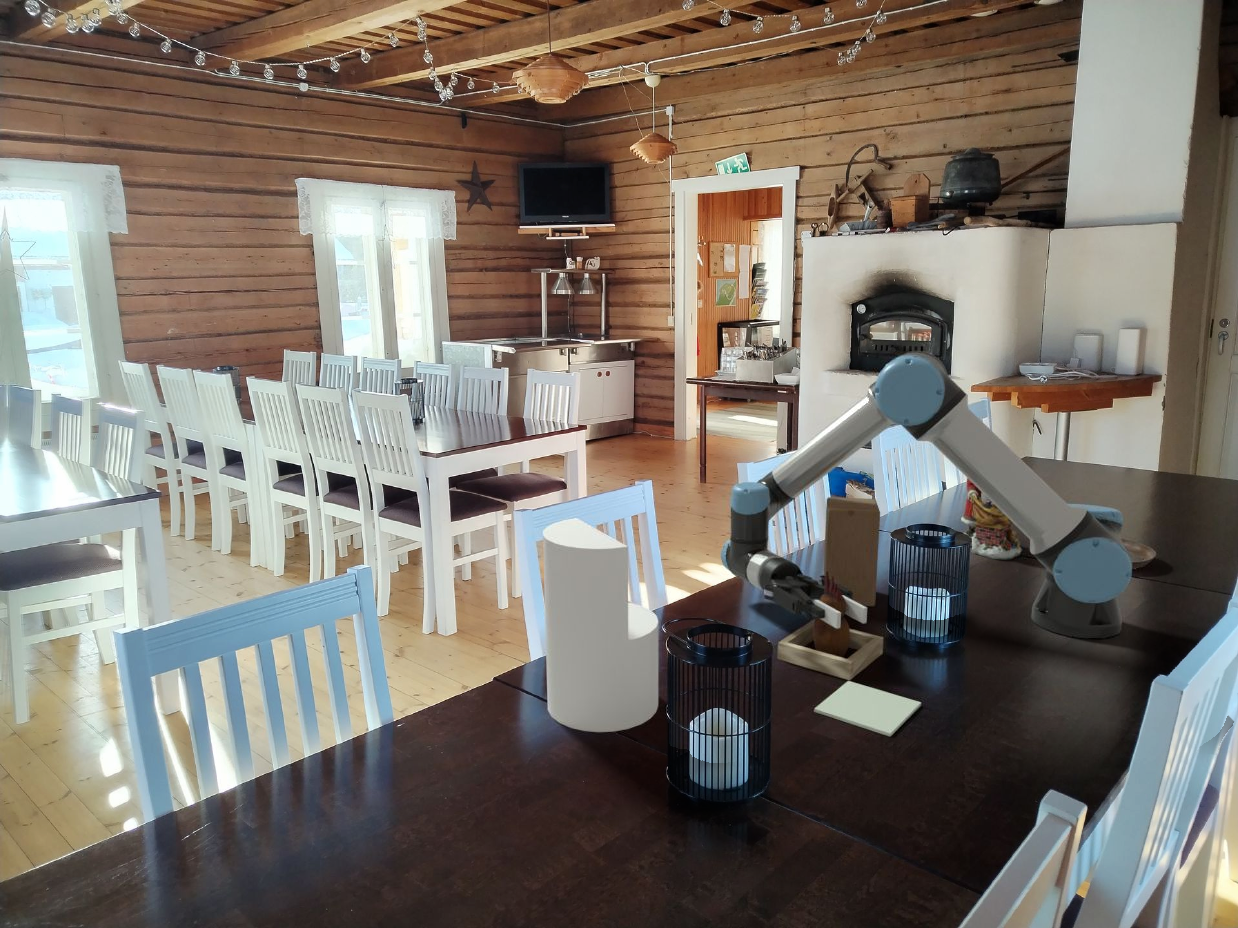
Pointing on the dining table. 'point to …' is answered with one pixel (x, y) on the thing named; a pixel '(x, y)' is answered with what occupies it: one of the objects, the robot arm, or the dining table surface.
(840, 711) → the sage mat
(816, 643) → the wooden figurine
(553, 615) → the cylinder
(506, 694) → the dining table surface
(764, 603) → the dining table surface
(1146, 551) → the plant saucer
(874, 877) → the dining table surface
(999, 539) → the santa figurine
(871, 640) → the pale wood square frame
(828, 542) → the wooden block
